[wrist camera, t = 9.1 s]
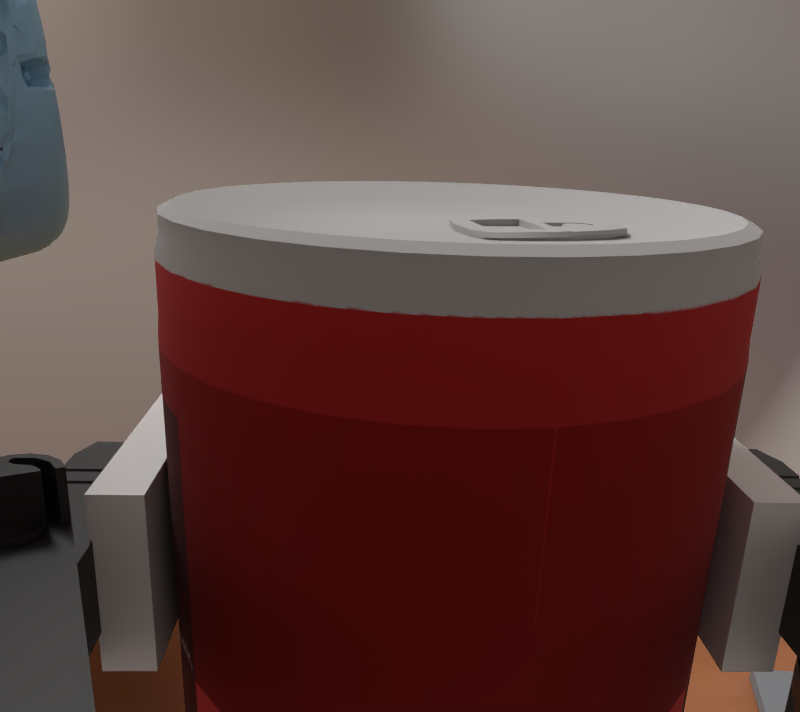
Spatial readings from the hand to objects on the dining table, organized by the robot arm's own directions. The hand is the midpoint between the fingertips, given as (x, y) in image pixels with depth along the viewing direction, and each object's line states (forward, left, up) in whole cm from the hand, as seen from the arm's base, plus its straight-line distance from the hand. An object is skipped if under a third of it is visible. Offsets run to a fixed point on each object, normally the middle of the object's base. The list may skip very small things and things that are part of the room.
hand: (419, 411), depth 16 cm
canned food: (+6, -3, -5) cm, 8 cm away
